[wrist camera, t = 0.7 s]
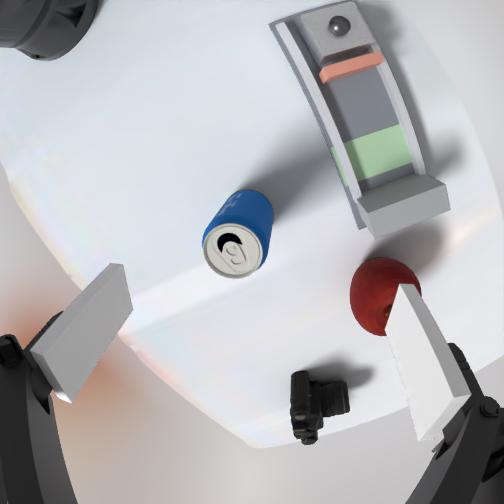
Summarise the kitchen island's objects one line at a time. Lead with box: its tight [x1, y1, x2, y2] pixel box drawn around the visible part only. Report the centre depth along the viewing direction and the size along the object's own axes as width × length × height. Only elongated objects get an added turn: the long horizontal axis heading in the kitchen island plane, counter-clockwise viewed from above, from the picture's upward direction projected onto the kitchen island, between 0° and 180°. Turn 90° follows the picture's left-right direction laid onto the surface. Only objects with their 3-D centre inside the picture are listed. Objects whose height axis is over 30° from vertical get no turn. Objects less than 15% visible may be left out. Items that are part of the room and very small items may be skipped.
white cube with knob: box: [299, 1, 375, 67], centre depth 23 cm, size 5×6×7 cm
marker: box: [319, 51, 384, 84], centre depth 25 cm, size 1×6×5 cm, turn 115°
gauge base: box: [269, 0, 451, 239], centre depth 27 cm, size 28×11×8 cm, turn 25°
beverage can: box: [202, 190, 274, 279], centre depth 33 cm, size 6×6×12 cm
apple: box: [350, 258, 422, 336], centre depth 35 cm, size 10×10×10 cm
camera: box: [290, 371, 350, 445], centre depth 47 cm, size 14×11×10 cm
